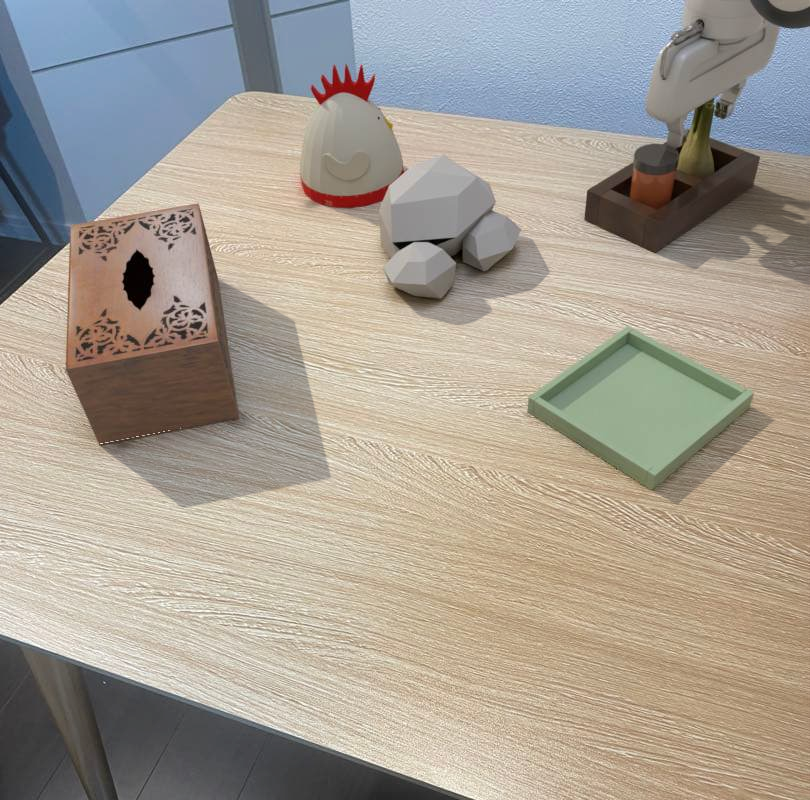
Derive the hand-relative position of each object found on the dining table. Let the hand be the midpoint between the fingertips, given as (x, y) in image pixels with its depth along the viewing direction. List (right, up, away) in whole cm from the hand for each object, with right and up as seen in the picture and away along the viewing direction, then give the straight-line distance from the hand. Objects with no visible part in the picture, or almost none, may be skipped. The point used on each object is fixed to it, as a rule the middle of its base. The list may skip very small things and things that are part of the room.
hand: (699, 130), depth 112 cm
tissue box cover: (-63, -29, -9) cm, 70 cm away
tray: (-13, -37, -19) cm, 44 cm away
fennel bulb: (+1, -5, +6) cm, 8 cm away
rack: (-3, -7, +4) cm, 9 cm away
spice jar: (-6, -10, +2) cm, 12 cm away
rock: (-33, -15, 0) cm, 36 cm away
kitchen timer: (-43, -1, +13) cm, 45 cm away
